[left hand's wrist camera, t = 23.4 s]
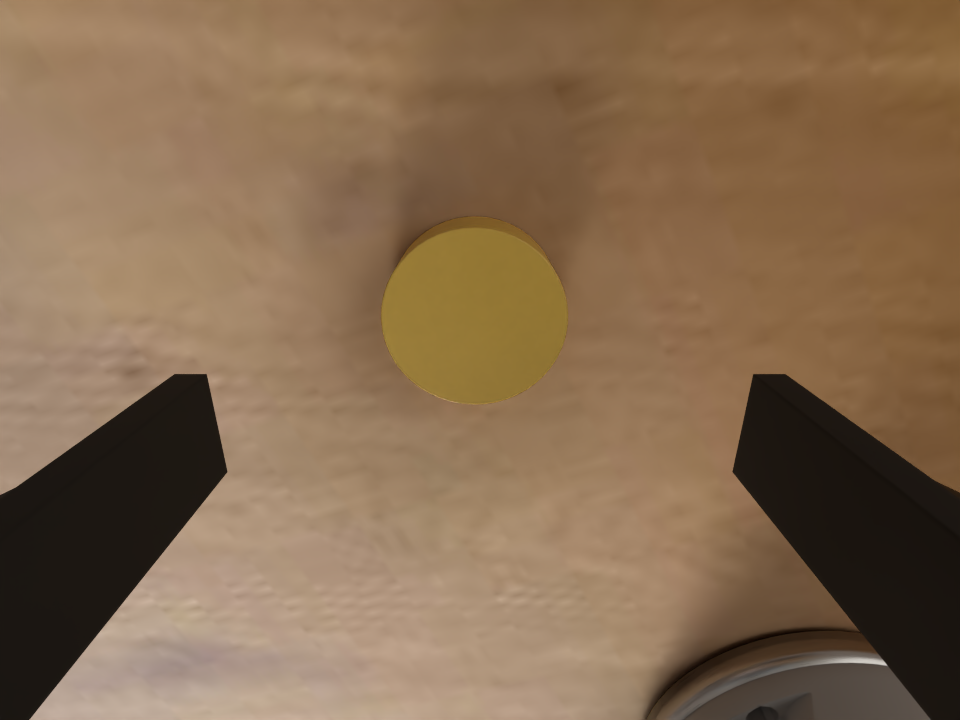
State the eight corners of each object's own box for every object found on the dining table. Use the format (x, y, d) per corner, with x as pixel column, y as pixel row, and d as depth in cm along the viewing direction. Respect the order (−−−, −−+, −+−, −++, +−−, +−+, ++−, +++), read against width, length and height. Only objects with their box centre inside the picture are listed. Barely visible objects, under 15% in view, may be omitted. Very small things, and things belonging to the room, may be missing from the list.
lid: (362, 326, 18) (348, 350, 16) (445, 180, 16) (441, 187, 14) (499, 402, 19) (501, 433, 17) (591, 275, 17) (606, 294, 15)
